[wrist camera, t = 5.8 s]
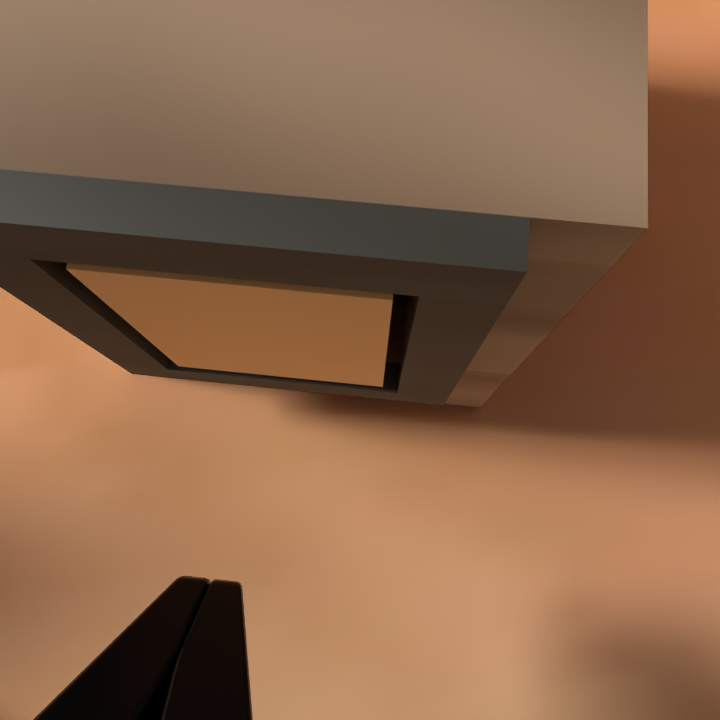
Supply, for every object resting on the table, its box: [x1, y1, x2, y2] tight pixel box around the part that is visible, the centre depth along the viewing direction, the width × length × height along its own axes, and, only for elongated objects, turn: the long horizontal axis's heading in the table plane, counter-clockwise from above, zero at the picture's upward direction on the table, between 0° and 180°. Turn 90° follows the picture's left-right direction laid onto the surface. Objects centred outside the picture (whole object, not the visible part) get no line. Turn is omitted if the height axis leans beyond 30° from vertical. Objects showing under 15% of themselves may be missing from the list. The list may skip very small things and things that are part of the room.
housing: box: [0, 0, 648, 408], centre depth 13 cm, size 11×9×10 cm
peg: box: [66, 263, 393, 387], centre depth 12 cm, size 10×4×5 cm, turn 174°
